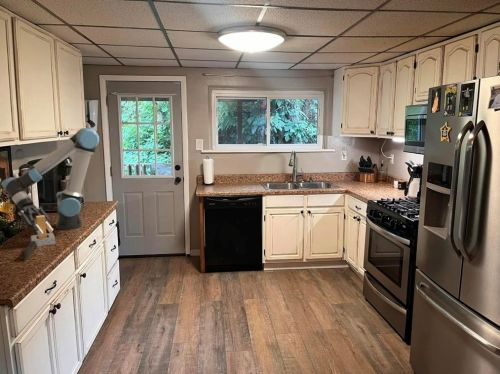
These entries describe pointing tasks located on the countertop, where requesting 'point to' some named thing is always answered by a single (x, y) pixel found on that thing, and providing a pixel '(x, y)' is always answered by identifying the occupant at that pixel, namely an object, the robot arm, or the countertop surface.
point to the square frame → (43, 239)
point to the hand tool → (29, 250)
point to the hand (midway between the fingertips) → (46, 232)
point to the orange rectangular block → (41, 225)
